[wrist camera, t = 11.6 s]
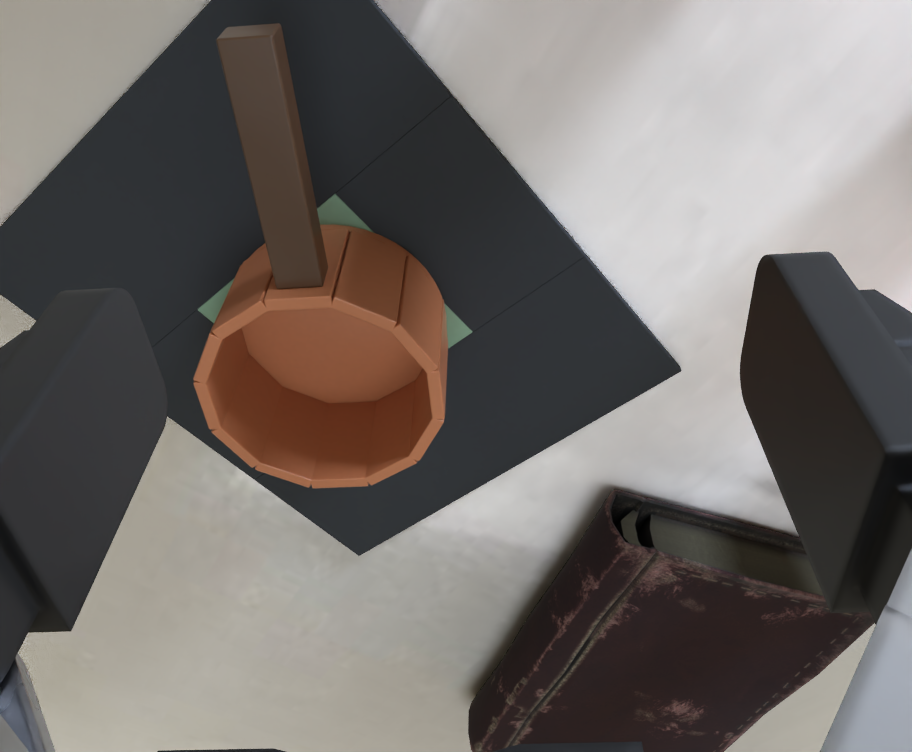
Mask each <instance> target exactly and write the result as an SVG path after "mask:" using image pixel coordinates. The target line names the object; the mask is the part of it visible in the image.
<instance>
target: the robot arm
mask: <svg viewBox="0 0 912 752" xmlns="http://www.w3.org/2000/svg"><path fill="white" fill-rule="evenodd" d="M740 381H741V390H742V395H743V400H744V403H745V406H746V409H747V411H748V413H749V416H750V418H751V421H752V423H753V426H754V428H755V430H756V433H757V435H758V438H759V440H760V443H761V445H762V447H763V450H764V452H765V455H766V457H767V460H768V462H769V464H770V467H771V469H772V472H773V474H774V477H775V479H776V481H777V484H778V486H779V489H780V491H781V493H782V496H783V498H784V501H785V503H786V506H787V508H788V510H789V513H790V515H791V518H792V520H793V523H794V525H795V527H796V530H797V532H798V535H799V537H800V540H801V542H802V544H803V547H804V549H805V552H806V554H807V557H808V559H809V561H810V564H811V566H812V569H813V571H814V574H815V576H816V578H817V581H818V583H819V586H820V588H821V590H822V593H823V595H824V598H825V600H826V603H827V605H828V607H829V610H830V612H831V613H851V612H870V613H871V616H872V618H873V620H874V622H875V624H876V626H875V629H874V631H873V633H872V635H871V638H870V640H869V642H868V644H867V647H866V649H865V651H864V653H863V656H862V658H861V660H860V662H859V665H858V667H857V669H856V671H855V674H854V676H853V678H852V680H851V683H850V685H849V687H848V690H847V692H846V694H845V696H844V699H843V701H842V703H841V705H840V708H839V710H838V712H837V714H836V717H835V719H834V721H833V723H832V726H831V728H830V730H829V732H828V735H827V737H826V739H825V741H824V744H823V746H822V748H821V750H820V752H912V313H911V312H910V311H908V310H906V309H905V308H903V307H902V306H900V305H899V304H897V303H895V302H894V301H892V300H891V299H889V298H887V297H886V296H884V295H883V294H881V293H880V292H878V291H876V290H875V289H874V290H858V289H857V288H856V286H855V285H854V283H853V282H852V281H851V279H850V278H849V276H848V275H847V274H846V272H845V271H844V269H843V268H842V266H841V265H840V264H839V262H838V261H837V259H836V258H835V257H834V256H833V254H831V253H830V252H809V253H791V254H772V255H765V256H763V257H762V259H761V260H760V262H759V264H758V267H757V271H756V276H755V281H754V287H753V292H752V298H751V304H750V309H749V315H748V320H747V326H746V332H745V337H744V343H743V348H742V354H741V362H740ZM167 410H168V401H167V391H166V386H165V383H164V379H163V377H162V374H161V371H160V369H159V366H158V363H157V361H156V358H155V355H154V352H153V350H152V347H151V344H150V342H149V339H148V336H147V334H146V331H145V328H144V325H143V323H142V320H141V317H140V315H139V312H138V309H137V307H136V304H135V302H134V300H133V298H132V296H131V295H130V294H129V293H128V292H127V291H126V290H125V289H123V288H104V289H85V290H66V291H62V292H60V293H58V294H57V295H56V296H55V298H54V299H53V300H52V301H51V303H50V304H49V305H48V307H47V308H46V309H45V311H44V312H43V313H42V315H41V316H40V317H39V318H38V320H37V321H36V322H35V324H34V325H33V326H32V328H31V329H30V330H27V331H23V332H22V333H21V334H19V335H18V336H16V337H15V338H14V339H12V340H11V341H9V342H8V343H7V344H5V345H4V346H2V347H1V348H0V752H55V749H54V746H53V743H52V740H51V737H50V734H49V731H48V728H47V725H46V722H45V719H44V717H43V714H42V711H41V708H40V705H39V702H38V699H37V696H36V693H35V690H34V687H33V684H32V681H31V678H30V675H29V672H28V669H27V667H26V665H25V663H24V662H23V660H22V659H21V657H20V656H19V654H18V651H19V649H20V647H21V645H22V643H23V641H24V639H25V637H26V635H27V633H28V632H61V631H71V630H72V628H73V626H74V624H75V621H76V619H77V617H78V615H79V613H80V611H81V608H82V606H83V604H84V602H85V600H86V597H87V595H88V593H89V591H90V589H91V587H92V584H93V582H94V580H95V578H96V576H97V573H98V571H99V569H100V567H101V565H102V562H103V560H104V558H105V556H106V554H107V552H108V549H109V547H110V545H111V543H112V541H113V538H114V536H115V534H116V532H117V530H118V528H119V525H120V523H121V521H122V519H123V517H124V514H125V512H126V510H127V508H128V506H129V504H130V501H131V499H132V497H133V495H134V493H135V490H136V488H137V486H138V484H139V482H140V479H141V477H142V475H143V473H144V471H145V469H146V466H147V464H148V462H149V460H150V458H151V455H152V453H153V451H154V449H155V447H156V445H157V442H158V440H159V438H160V436H161V434H162V431H163V429H164V426H165V423H166V418H167ZM158 752H285V751H281V750H277V749H228V750H175V751H158ZM493 752H643V746H642V742H597V743H545V744H518V745H514V746H511V747H507V748H504V749H500V750H497V751H493Z"/></svg>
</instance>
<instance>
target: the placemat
mask: <svg viewBox="0 0 912 752" xmlns="http://www.w3.org/2000/svg"><path fill="white" fill-rule="evenodd" d="M276 23H279V24H280V25H281V27H282V32H283V37H284V42H285V47H286V52H287V58H288V63H289V68H290V73H291V78H292V83H293V88H294V94H295V99H296V104H297V109H298V114H299V119H300V124H301V129H302V135H303V140H304V145H305V150H306V155H307V160H308V165H309V170H310V176H311V181H312V186H313V191H314V196H315V201H316V206H317V211H318V217H319V222H320V225H343V226H351V227H356V228H360V229H364V230H368V231H370V232H373V233H376V234H379V235H381V236H383V237H385V238H387V239H389V240H391V241H393V242H395V243H396V244H398V245H399V246H401V247H402V248H404V249H405V250H407V251H408V252H409V253H410V254H411V255H413V256H414V257H415V258H416V259H417V260H418V261H419V262H420V263H421V264H422V265H423V266H424V267H425V268H426V270H427V271H428V272H429V274H430V275H431V277H432V278H433V280H434V281H435V283H436V285H437V287H438V289H439V291H440V293H441V295H442V299H443V300H444V305H445V311H446V322H447V338H448V359H447V382H446V404H445V418H444V423H443V424H442V426H441V428H440V429H439V431H438V432H437V434H436V436H435V437H434V439H433V440H432V442H431V443H430V445H429V447H428V448H427V450H426V451H425V453H424V455H423V456H422V458H421V459H420V461H417V463H416V464H414V465H412V466H410V467H408V468H406V469H404V470H402V471H400V472H398V473H396V474H394V475H392V476H390V477H388V478H386V479H384V480H382V481H380V482H378V483H376V484H373V485H370V484H368V486H362V487H336V488H312V485H311V486H310V487H309V488H308V487H305V486H302V485H299V484H296V483H293V482H290V481H287V480H284V479H281V478H278V477H275V476H272V475H269V474H266V473H263V472H260V471H257V470H255V467H256V466H255V467H253V468H252V467H250V466H249V465H248V464H247V463H246V462H245V461H243V460H242V459H241V458H240V457H239V456H238V455H237V454H235V453H234V452H233V451H232V450H231V449H230V448H229V447H227V446H226V445H225V444H224V443H223V442H222V441H221V440H220V439H218V438H217V437H216V436H215V435H214V434H213V433H212V429H211V430H210V429H209V427H208V424H207V421H206V419H205V416H204V413H203V410H202V407H201V404H200V401H199V398H198V395H197V393H196V390H195V387H194V384H193V382H194V380H193V378H194V375H195V372H196V369H197V367H198V364H199V361H200V358H201V355H202V353H203V350H204V347H205V344H206V342H207V339H208V336H209V333H210V331H211V329H212V327H213V325H214V322H215V320H216V318H217V316H218V314H219V311H220V309H221V307H222V305H223V303H224V300H225V298H226V296H227V294H228V292H229V289H230V287H231V285H232V283H233V281H234V278H235V276H236V274H237V272H238V270H239V267H240V265H242V264H243V262H244V261H245V260H247V259H248V258H249V257H250V256H251V255H252V254H253V253H254V252H255V251H256V250H257V249H258V248H259V247H261V246H262V245H263V244H265V240H264V236H263V232H262V227H261V223H260V219H259V215H258V211H257V207H256V203H255V199H254V195H253V191H252V187H251V182H250V178H249V174H248V170H247V166H246V162H245V158H244V154H243V150H242V146H241V141H240V137H239V133H238V129H237V125H236V121H235V117H234V113H233V109H232V105H231V101H230V96H229V92H228V88H227V84H226V80H225V76H224V72H223V68H222V64H221V60H220V56H219V51H218V47H217V43H216V39H217V38H218V37H219V36H220V35H221V33H222V32H223V31H224V30H225V29H226V28H227V27H236V26H249V25H262V24H276ZM104 288H123V289H125V290H126V291H127V292H128V293H129V294H130V295H131V296H132V298H133V300H134V302H135V304H136V307H137V309H138V312H139V315H140V317H141V320H142V323H143V325H144V328H145V331H146V334H147V336H148V339H149V342H150V344H151V347H152V350H153V352H154V355H155V358H156V361H157V363H158V366H159V369H160V371H161V374H162V377H163V379H164V383H165V386H166V391H167V401H168V410H167V416H168V417H169V418H171V419H172V420H174V421H175V422H176V423H178V424H179V425H180V426H182V427H183V428H184V429H186V430H187V431H189V432H190V433H191V434H193V435H194V436H195V437H197V438H198V439H200V440H201V441H202V442H204V443H205V444H206V445H208V446H209V447H211V448H212V449H213V450H215V451H216V452H217V453H219V454H220V455H221V456H223V457H224V458H226V459H227V460H228V461H230V462H231V463H232V464H234V465H235V466H237V467H238V468H239V469H241V470H242V471H243V472H245V473H246V474H248V475H249V476H250V477H252V478H253V479H255V480H256V481H257V482H259V483H260V484H261V485H263V486H264V487H265V488H267V489H268V490H269V491H271V492H272V493H274V494H275V495H276V496H278V497H279V498H280V499H282V500H283V501H285V502H286V503H287V504H289V505H290V506H291V507H293V508H294V509H296V510H297V511H298V512H300V513H301V514H302V515H304V516H305V517H307V518H308V519H309V520H311V521H312V522H313V523H315V524H316V525H317V526H319V527H320V528H322V529H323V530H324V531H326V532H327V533H328V534H330V535H331V536H333V537H334V538H335V539H337V540H338V541H339V542H341V543H342V544H344V545H345V546H346V547H348V548H349V549H350V550H352V551H353V552H354V553H356V554H357V555H359V556H360V555H361V554H363V553H365V552H367V551H368V550H370V549H372V548H374V547H375V546H377V545H379V544H381V543H382V542H384V541H386V540H388V539H389V538H391V537H393V536H395V535H396V534H398V533H400V532H401V531H403V530H405V529H407V528H408V527H410V526H412V525H414V524H415V523H417V522H419V521H421V520H422V519H424V518H426V517H428V516H429V515H431V514H433V513H435V512H436V511H438V510H440V509H442V508H443V507H445V506H447V505H449V504H450V503H452V502H454V501H456V500H457V499H459V498H461V497H463V496H464V495H466V494H468V493H469V492H471V491H473V490H475V489H476V488H478V487H480V486H482V485H483V484H485V483H487V482H489V481H490V480H492V479H494V478H496V477H497V476H499V475H501V474H503V473H504V472H506V471H508V470H510V469H511V468H513V467H515V466H517V465H518V464H520V463H522V462H524V461H525V460H527V459H529V458H531V457H532V456H534V455H536V454H538V453H539V452H541V451H543V450H544V449H546V448H548V447H550V446H551V445H553V444H555V443H557V442H558V441H560V440H562V439H564V438H565V437H567V436H569V435H571V434H572V433H574V432H576V431H578V430H579V429H581V428H583V427H585V426H586V425H588V424H590V423H592V422H593V421H595V420H597V419H599V418H600V417H602V416H604V415H606V414H607V413H609V412H611V411H613V410H614V409H616V408H618V407H619V406H621V405H623V404H625V403H626V402H628V401H630V400H632V399H633V398H635V397H637V396H639V395H640V394H642V393H644V392H646V391H647V390H649V389H651V388H653V387H654V386H656V385H658V384H660V383H661V382H663V381H665V380H667V379H668V378H670V377H672V376H674V375H675V374H677V373H679V372H681V368H680V366H679V365H678V364H677V363H676V361H675V360H674V359H673V358H672V357H671V355H670V354H669V353H668V352H667V351H666V349H665V348H664V347H663V346H662V345H661V344H660V342H659V341H658V340H657V339H656V338H655V336H654V335H653V334H652V333H651V332H650V330H649V329H648V328H647V327H646V326H645V324H644V323H643V322H642V321H641V320H640V318H639V317H638V316H637V315H636V314H635V312H634V311H633V310H632V309H631V308H630V306H629V305H628V304H627V303H626V302H625V301H624V299H623V298H622V297H621V296H620V295H619V293H618V292H617V291H616V290H615V289H614V287H613V286H612V285H611V284H610V283H609V281H608V280H607V279H606V278H605V277H604V275H603V274H602V273H601V272H600V271H599V269H598V268H597V267H596V266H595V265H594V264H593V262H592V261H591V260H590V259H589V258H588V256H587V255H586V254H585V253H584V252H583V250H582V249H581V248H580V247H579V246H578V244H577V243H576V242H575V241H574V240H573V238H572V237H571V236H570V235H569V234H568V232H567V231H566V230H565V229H564V228H563V227H562V225H561V224H560V223H559V222H558V221H557V219H556V218H555V217H554V216H553V215H552V213H551V212H550V211H549V210H548V209H547V207H546V206H545V205H544V204H543V203H542V201H541V200H540V199H539V198H538V197H537V195H536V194H535V193H534V192H533V191H532V190H531V188H530V187H529V186H528V185H527V184H526V182H525V181H524V180H523V179H522V178H521V176H520V175H519V174H518V173H517V172H516V170H515V169H514V168H513V167H512V166H511V164H510V163H509V162H508V161H507V160H506V158H505V157H504V156H503V155H502V154H501V152H500V151H499V150H498V149H497V148H496V147H495V145H494V144H493V143H492V142H491V141H490V139H489V138H488V137H487V136H486V135H485V133H484V132H483V131H482V130H481V129H480V127H479V126H478V125H477V124H476V123H475V121H474V120H473V119H472V118H471V117H470V115H469V114H468V113H467V112H466V111H465V110H464V108H463V107H462V106H461V105H460V104H459V102H458V101H457V100H456V99H455V98H454V96H453V95H452V94H451V93H450V92H449V90H448V89H447V88H446V87H445V86H444V84H443V83H442V82H441V81H440V80H439V78H438V77H437V76H436V75H435V74H434V73H433V71H432V70H431V69H430V68H429V67H428V65H427V64H426V63H425V62H424V61H423V59H422V58H421V57H420V56H419V55H418V53H417V52H416V51H415V50H414V49H413V47H412V46H411V45H410V44H409V43H408V41H407V40H406V39H405V38H404V37H403V36H402V34H401V33H400V32H399V31H398V30H397V28H396V27H395V26H394V25H393V24H392V22H391V21H390V20H389V19H388V18H387V16H386V15H385V14H384V13H383V12H382V10H381V9H380V8H379V7H378V6H377V4H376V3H375V2H374V1H373V0H211V2H210V3H209V4H208V5H207V6H206V7H205V8H204V9H203V10H202V11H201V12H200V13H199V14H198V16H197V17H196V18H195V19H194V20H193V21H192V22H191V23H190V24H189V25H188V26H187V27H186V28H185V29H184V31H183V32H182V33H181V34H180V35H179V36H178V37H177V38H176V39H175V40H174V41H173V42H172V43H171V44H170V46H169V47H168V48H167V49H166V50H165V51H164V52H163V53H162V54H161V55H160V56H159V57H158V58H157V59H156V61H155V62H154V63H153V64H152V65H151V66H150V67H149V68H148V69H147V70H146V71H145V72H144V73H143V75H142V76H141V77H140V78H139V79H138V80H137V81H136V82H135V83H134V84H133V85H132V86H131V87H130V88H129V90H128V91H127V92H126V93H125V94H124V95H123V96H122V97H121V98H120V99H119V100H118V101H117V102H116V103H115V105H114V106H113V107H112V108H111V109H110V110H109V111H108V112H107V113H106V114H105V115H104V116H103V117H102V118H101V120H100V121H99V122H98V123H97V124H96V125H95V126H94V127H93V128H92V129H91V130H90V131H89V132H88V134H87V135H86V136H85V137H84V138H83V139H82V140H81V141H80V142H79V143H78V144H77V145H76V146H75V147H74V149H73V150H72V151H71V152H70V153H69V154H68V155H67V156H66V157H65V158H64V159H63V160H62V161H61V162H60V164H59V165H58V166H57V167H56V168H55V169H54V170H53V171H52V172H51V173H50V174H49V175H48V176H47V178H46V179H45V180H44V181H43V182H42V183H41V184H40V185H39V186H38V187H37V188H36V189H35V190H34V191H33V193H32V194H31V195H30V196H29V197H28V198H27V199H26V200H25V201H24V202H23V203H22V204H21V205H20V206H19V208H18V209H17V210H16V211H15V212H14V213H13V214H12V215H11V216H10V217H9V218H8V219H7V220H6V221H5V223H4V224H3V225H2V226H1V227H0V294H1V295H2V296H3V297H5V298H6V299H8V300H9V301H10V302H12V303H13V304H14V305H16V306H17V307H19V308H20V309H21V310H23V311H24V312H25V313H27V314H28V315H30V316H31V317H32V318H34V319H35V320H36V321H37V320H38V318H39V317H40V316H41V315H42V313H43V312H44V311H45V309H46V308H47V307H48V305H49V304H50V303H51V301H52V300H53V299H54V298H55V296H56V295H57V294H58V293H60V292H62V291H66V290H85V289H104Z"/></svg>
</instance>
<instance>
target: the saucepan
mask: <svg viewBox="0 0 912 752" xmlns="http://www.w3.org/2000/svg"><path fill="white" fill-rule="evenodd" d="M216 43H217V47H218V51H219V56H220V60H221V64H222V68H223V72H224V76H225V80H226V84H227V88H228V92H229V96H230V101H231V105H232V109H233V113H234V117H235V121H236V125H237V129H238V133H239V137H240V141H241V146H242V150H243V154H244V158H245V162H246V166H247V170H248V174H249V178H250V182H251V187H252V191H253V195H254V199H255V203H256V207H257V211H258V215H259V219H260V223H261V227H262V232H263V236H264V240H265V244H263V245H262V246H261V247H259V248H258V249H257V250H256V251H255V252H254V253H253V254H252V255H251V256H250V257H249V258H248V259H247V260H245V261H244V262H243V264H242V265H240V267H239V270H238V272H237V274H236V276H235V278H234V281H233V283H232V285H231V287H230V289H229V292H228V294H227V296H226V298H225V300H224V303H223V305H222V307H221V309H220V311H219V314H218V316H217V318H216V320H215V322H214V325H213V327H212V329H211V331H210V333H209V336H208V339H207V342H206V344H205V347H204V350H203V353H202V355H201V358H200V361H199V364H198V367H197V369H196V372H195V375H194V378H193V380H194V382H193V384H194V387H195V390H196V393H197V395H198V398H199V401H200V404H201V407H202V410H203V413H204V416H205V419H206V421H207V424H208V427H209V429H210V430H211V429H212V433H213V434H214V435H215V436H216V437H217V438H218V439H220V440H221V441H222V442H223V443H224V444H225V445H226V446H227V447H229V448H230V449H231V450H232V451H233V452H234V453H235V454H237V455H238V456H239V457H240V458H241V459H242V460H243V461H245V462H246V463H247V464H248V465H249V466H250V467H252V468H253V467H255V466H256V467H255V470H257V471H260V472H263V473H266V474H269V475H272V476H275V477H278V478H281V479H284V480H287V481H290V482H293V483H296V484H299V485H302V486H305V487H308V488H309V487H310V486H311V485H312V488H336V487H362V486H368V484H370V485H373V484H376V483H378V482H380V481H382V480H384V479H386V478H388V477H390V476H392V475H394V474H396V473H398V472H400V471H402V470H404V469H406V468H408V467H410V466H412V465H414V464H416V463H417V461H420V459H421V458H422V456H423V455H424V453H425V451H426V450H427V448H428V447H429V445H430V443H431V442H432V440H433V439H434V437H435V436H436V434H437V432H438V431H439V429H440V428H441V426H442V424H443V423H444V418H445V404H446V382H447V359H448V338H447V322H446V311H445V305H444V300H443V299H442V295H441V293H440V291H439V289H438V287H437V285H436V283H435V281H434V280H433V278H432V277H431V275H430V274H429V272H428V271H427V270H426V268H425V267H424V266H423V265H422V264H421V263H420V262H419V261H418V260H417V259H416V258H415V257H414V256H413V255H411V254H410V253H409V252H408V251H407V250H405V249H404V248H402V247H401V246H399V245H398V244H396V243H395V242H393V241H391V240H389V239H387V238H385V237H383V236H381V235H379V234H376V233H373V232H370V231H368V230H364V229H360V228H356V227H351V226H343V225H320V222H319V217H318V211H317V206H316V201H315V196H314V191H313V186H312V181H311V176H310V170H309V165H308V160H307V155H306V150H305V145H304V140H303V135H302V129H301V124H300V119H299V114H298V109H297V104H296V99H295V94H294V88H293V83H292V78H291V73H290V68H289V63H288V58H287V52H286V47H285V42H284V37H283V32H282V27H281V25H280V24H279V23H276V24H262V25H249V26H236V27H227V28H226V29H225V30H224V31H223V32H222V33H221V35H220V36H219V37H218V38H217V39H216Z"/></svg>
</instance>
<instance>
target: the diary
mask: <svg viewBox="0 0 912 752" xmlns="http://www.w3.org/2000/svg"><path fill="white" fill-rule="evenodd" d="M874 623H875V622H874V620H873V618H872V616H871V613H870V612H851V613H831V612H830V610H829V607H828V605H827V603H826V600H825V598H824V595H823V593H822V590H821V588H820V586H819V583H818V581H817V578H816V576H815V574H814V571H813V569H812V566H811V564H810V561H809V559H808V557H807V554H806V552H805V549H804V547H803V544H802V542H801V540H800V538H796V537H793V536H789V535H785V534H781V533H778V532H774V531H770V530H766V529H763V528H759V527H755V526H751V525H747V524H744V523H740V522H736V521H732V520H729V519H725V518H721V517H717V516H714V515H710V514H706V513H702V512H698V511H695V510H691V509H687V508H683V507H680V506H676V505H672V504H668V503H664V502H661V501H657V500H653V499H649V498H646V499H644V498H643V497H642V496H638V495H634V494H631V493H627V492H623V491H619V490H613V491H612V492H611V493H610V495H609V496H608V498H607V499H606V501H605V502H604V504H603V505H602V507H601V509H600V510H599V512H598V513H597V515H596V517H595V518H594V520H593V521H592V523H591V525H590V526H589V528H588V529H587V531H586V533H585V534H584V536H583V537H582V539H581V541H580V542H579V544H578V545H577V547H576V549H575V550H574V552H573V553H572V555H571V557H570V558H569V560H568V561H567V563H566V564H565V566H564V567H563V569H562V570H561V571H560V573H559V574H558V576H557V577H556V579H555V580H554V581H553V583H552V584H551V586H550V587H549V588H548V590H547V591H546V593H545V594H544V595H543V597H542V598H541V600H540V601H539V603H538V604H537V605H536V607H535V608H534V610H533V611H532V612H531V614H530V615H529V617H528V619H527V620H526V622H525V624H524V625H523V627H522V628H521V630H520V632H519V633H518V635H517V637H516V638H515V640H514V642H513V643H512V645H511V646H510V648H509V650H508V651H507V653H506V655H505V656H504V658H503V660H502V661H501V663H500V664H499V665H498V667H497V668H496V669H495V671H494V672H493V674H492V675H491V676H490V678H489V679H488V680H487V682H486V683H485V684H484V686H483V687H482V689H481V690H480V691H479V693H478V694H477V695H476V697H475V698H474V700H473V701H472V703H471V706H470V709H469V728H468V733H469V739H470V745H471V750H472V752H493V751H497V750H500V749H504V748H507V747H511V746H514V745H518V744H545V743H597V742H642V746H643V752H724V751H725V750H726V749H727V748H728V747H729V746H730V745H732V744H733V743H734V742H735V741H736V740H737V739H738V738H739V737H740V736H741V735H742V734H744V733H745V732H746V731H747V730H748V729H749V728H750V727H751V726H752V725H753V724H754V723H756V722H757V721H758V720H759V719H760V718H761V717H762V716H763V715H764V714H766V713H767V712H768V711H770V710H771V709H772V708H774V707H775V706H776V705H778V704H779V703H780V702H782V701H783V700H784V699H786V698H787V697H788V696H790V695H791V694H792V693H794V692H795V691H796V690H798V689H799V688H800V687H802V686H803V685H805V684H806V683H807V682H809V681H810V680H811V679H813V678H814V677H815V676H817V675H818V674H819V673H820V672H821V671H822V670H824V669H825V668H826V667H827V666H828V665H829V664H830V663H831V662H832V661H833V660H834V659H836V658H837V657H838V656H839V655H840V654H841V653H842V652H843V651H844V650H845V649H846V648H848V647H849V646H850V645H851V644H852V643H853V642H854V641H855V640H856V639H857V638H858V637H860V636H861V635H862V634H863V633H864V632H865V631H866V630H867V629H868V628H869V627H870V626H872V625H873V624H874Z"/></svg>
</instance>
